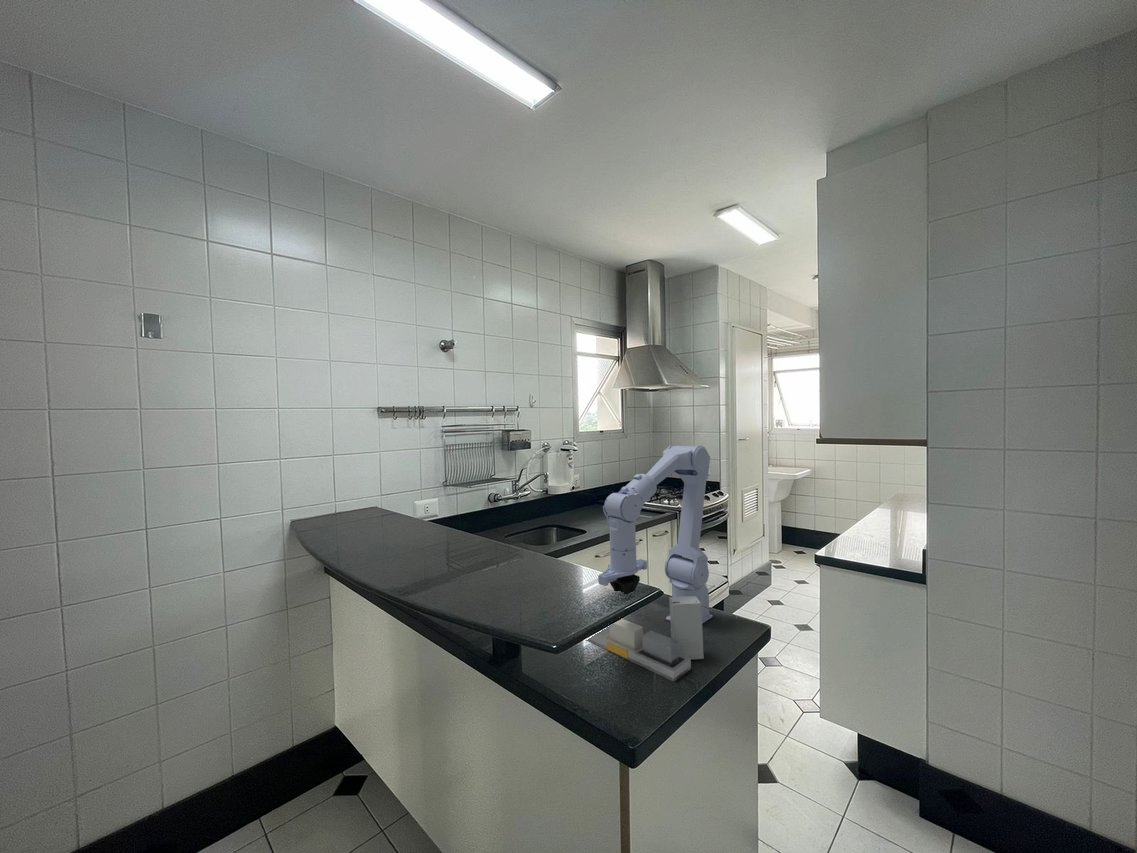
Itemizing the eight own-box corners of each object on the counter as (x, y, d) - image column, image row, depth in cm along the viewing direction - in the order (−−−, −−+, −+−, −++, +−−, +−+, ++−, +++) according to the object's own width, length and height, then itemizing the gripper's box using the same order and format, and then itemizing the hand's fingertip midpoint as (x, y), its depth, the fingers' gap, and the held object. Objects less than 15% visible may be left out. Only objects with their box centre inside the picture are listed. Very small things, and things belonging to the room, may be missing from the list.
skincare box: (698, 649, 96) (696, 594, 96) (704, 660, 91) (702, 603, 91) (670, 650, 96) (668, 595, 96) (675, 661, 91) (673, 603, 91)
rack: (589, 624, 109) (588, 602, 109) (690, 669, 88) (690, 641, 88) (571, 633, 105) (570, 610, 105) (673, 682, 84) (672, 653, 84)
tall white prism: (618, 638, 100) (618, 617, 100) (643, 649, 95) (642, 626, 95) (610, 643, 98) (609, 621, 98) (634, 655, 93) (634, 631, 93)
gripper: (629, 538, 104) (631, 594, 105) (587, 551, 95) (589, 613, 95) (653, 543, 99) (655, 602, 99) (611, 558, 89) (613, 624, 89)
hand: (625, 608), depth 97 cm, fingers closed
